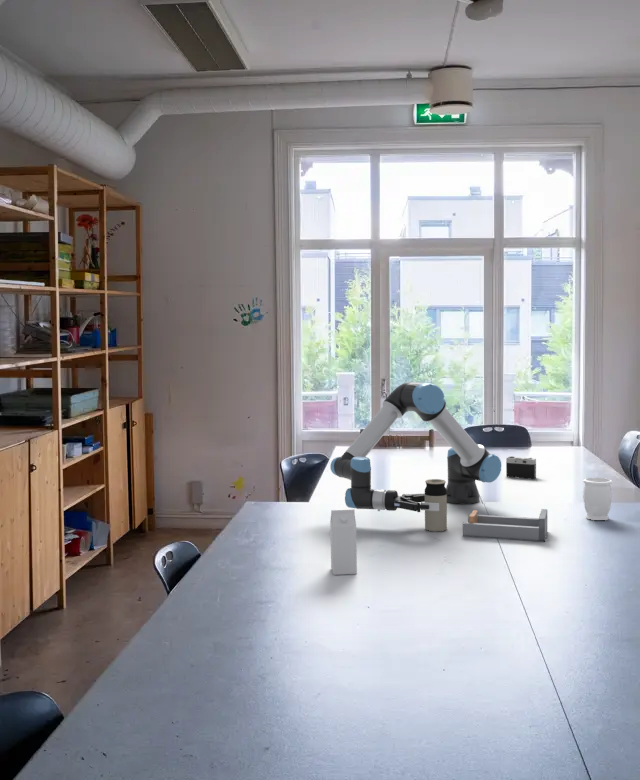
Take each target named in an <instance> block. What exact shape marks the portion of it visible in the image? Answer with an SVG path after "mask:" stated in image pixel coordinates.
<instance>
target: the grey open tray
mask: <svg viewBox="0 0 640 780" xmlns="http://www.w3.org/2000/svg"><path fill="white" fill-rule="evenodd" d="M470 514H471V513H470ZM470 514H468V515H467V519H468V520H467V521H468V522H465V521H464V522H463V523H462V537H464V538H465V537H467V538H482V539H496V540H508V541H509V540H510V541H511V540H512V541H513V540H514V541H528V542H540V543H541V542H542V543H545V542H546V539H547V535H548V509H547V508H546V509H545V508H541V510H540V513H539V516H538V517H524V516H523V517H522V516H508V515H507V516H506V515H504V516H503V515H492V514H490V515H487V514H478V523H469V516H470Z"/></svg>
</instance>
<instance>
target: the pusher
mask: <svg viewBox="0 0 640 780" xmlns="http://www.w3.org/2000/svg"><path fill="white" fill-rule="evenodd" d="M478 513H479V511H478V510H477V509H474V510H472V512H471V513H470V516H469V523H478V515H479V514H478Z"/></svg>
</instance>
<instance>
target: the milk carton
mask: <svg viewBox="0 0 640 780" xmlns="http://www.w3.org/2000/svg"><path fill="white" fill-rule="evenodd" d="M355 513H356V512H355V509H336V510H335V509H333V510H332V509H331V511H330V521H329V522H330V523H329V524H330V559H331V560H330V562H331V563H330V568H331V572H332V574H333V575H334V576H337V575H339V576H341V575H356V574H358V564H357V563H358V557H357V555H358V554H357V551H358V550H357V547H358V546H357V521H356V515H355Z"/></svg>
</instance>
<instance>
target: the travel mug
mask: <svg viewBox="0 0 640 780" xmlns="http://www.w3.org/2000/svg"><path fill="white" fill-rule="evenodd" d="M424 483H425V485H426V486H425V489H424V494H425V502H426V503H439V511H429V510H424V529H425V530H426V531H428V530H429V531H428V532H433V531H440V532H444V530H445V531H446V530H447V529H448V519H447V518H448V509H447V508H448V502H447V490H446V486H445V485H446V484H447V481H446V480H445V479H439V478H438V479H437V478H431V479H430V478H429V479H426V480H425V482H424Z"/></svg>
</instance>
